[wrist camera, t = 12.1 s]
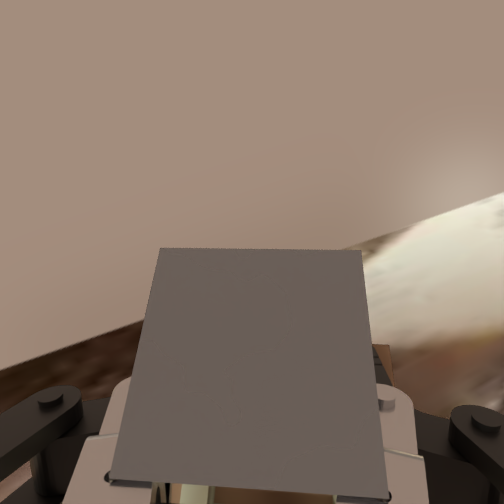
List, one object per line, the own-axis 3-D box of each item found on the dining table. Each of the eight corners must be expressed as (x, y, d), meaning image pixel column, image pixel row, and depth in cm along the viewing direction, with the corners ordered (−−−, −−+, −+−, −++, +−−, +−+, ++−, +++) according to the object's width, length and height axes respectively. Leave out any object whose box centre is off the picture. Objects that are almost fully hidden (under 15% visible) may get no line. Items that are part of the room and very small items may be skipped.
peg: (219, 477, 15) (109, 477, 5) (228, 375, 17) (160, 248, 7) (319, 484, 14) (389, 499, 5) (316, 379, 16) (360, 250, 7)
